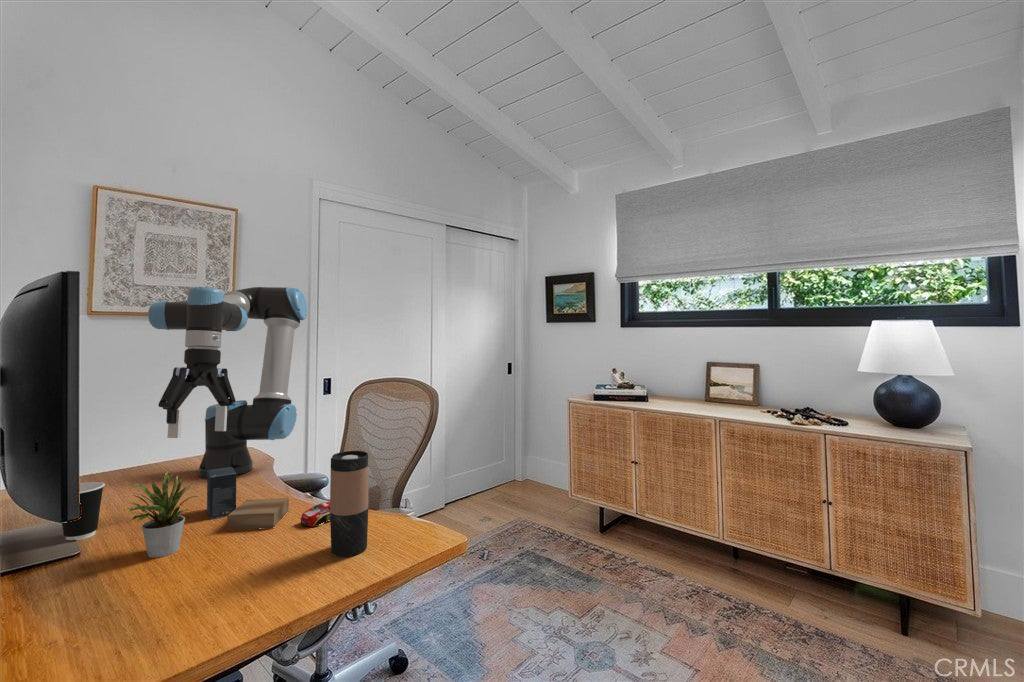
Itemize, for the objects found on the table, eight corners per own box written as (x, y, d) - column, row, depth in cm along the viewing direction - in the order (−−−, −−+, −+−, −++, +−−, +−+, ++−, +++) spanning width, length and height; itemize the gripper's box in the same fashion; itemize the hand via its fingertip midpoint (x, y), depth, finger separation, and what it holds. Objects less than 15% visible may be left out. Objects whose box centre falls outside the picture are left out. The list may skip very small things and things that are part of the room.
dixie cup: (114, 529, 103) (114, 481, 103) (80, 544, 96) (80, 493, 96) (80, 528, 104) (80, 481, 104) (44, 544, 96) (44, 493, 96)
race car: (345, 508, 118) (345, 493, 118) (358, 513, 114) (358, 497, 114) (297, 524, 107) (297, 508, 107) (309, 530, 104) (309, 513, 104)
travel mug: (376, 546, 95) (376, 453, 95) (346, 561, 89) (346, 461, 89) (351, 538, 99) (352, 448, 99) (321, 552, 93) (322, 456, 93)
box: (236, 514, 113) (236, 472, 112) (209, 520, 109) (209, 477, 109) (232, 505, 119) (232, 465, 119) (206, 510, 115) (206, 469, 115)
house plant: (117, 547, 94) (117, 471, 94) (197, 530, 103) (197, 459, 103) (114, 575, 83) (114, 488, 83) (203, 552, 92) (204, 474, 92)
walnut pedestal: (246, 515, 113) (246, 499, 113) (288, 513, 114) (288, 497, 114) (227, 532, 103) (227, 515, 103) (273, 530, 104) (273, 513, 104)
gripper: (171, 344, 99) (165, 441, 97) (252, 351, 124) (249, 428, 122) (142, 345, 100) (136, 440, 98) (228, 351, 125) (224, 428, 123)
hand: (198, 434), depth 110 cm, fingers open, 13 cm apart
